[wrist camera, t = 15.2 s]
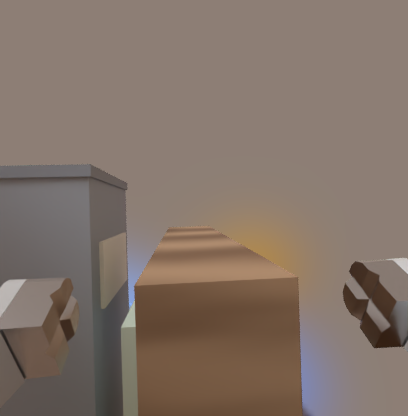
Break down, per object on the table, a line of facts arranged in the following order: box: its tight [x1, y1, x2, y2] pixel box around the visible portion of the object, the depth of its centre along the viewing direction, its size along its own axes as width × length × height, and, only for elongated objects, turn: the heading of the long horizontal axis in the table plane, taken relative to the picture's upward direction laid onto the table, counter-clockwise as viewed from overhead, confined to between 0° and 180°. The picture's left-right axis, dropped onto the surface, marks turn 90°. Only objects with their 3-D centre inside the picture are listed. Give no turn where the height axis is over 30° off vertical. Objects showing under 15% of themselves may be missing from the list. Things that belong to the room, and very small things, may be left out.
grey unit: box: [0, 164, 129, 416], centre depth 25 cm, size 13×10×26 cm
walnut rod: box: [134, 226, 302, 416], centre depth 18 cm, size 22×4×4 cm, turn 5°
